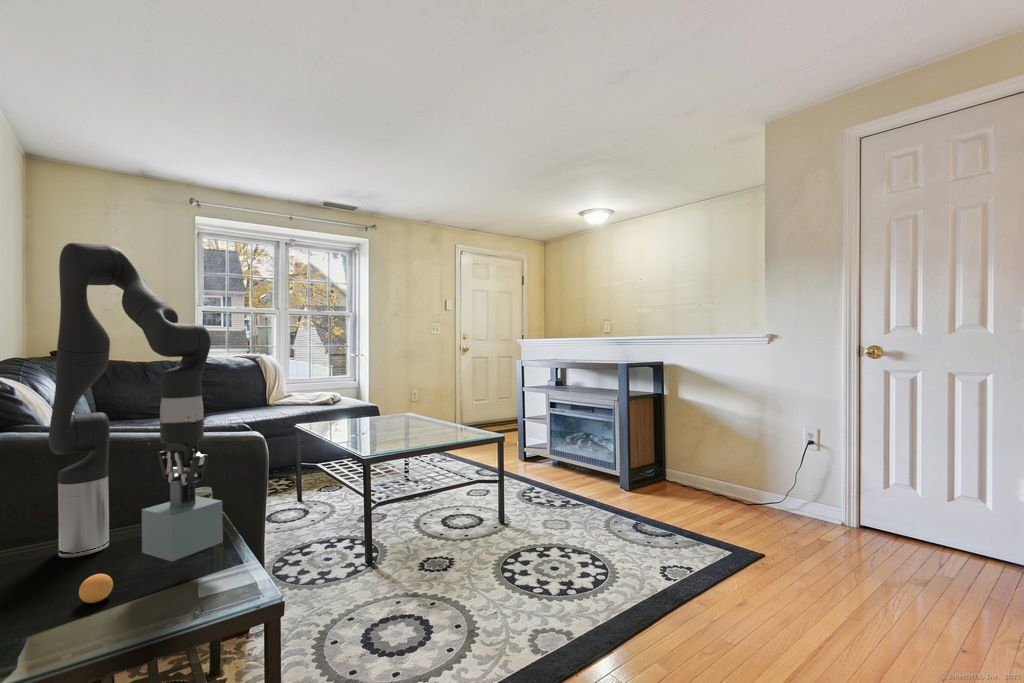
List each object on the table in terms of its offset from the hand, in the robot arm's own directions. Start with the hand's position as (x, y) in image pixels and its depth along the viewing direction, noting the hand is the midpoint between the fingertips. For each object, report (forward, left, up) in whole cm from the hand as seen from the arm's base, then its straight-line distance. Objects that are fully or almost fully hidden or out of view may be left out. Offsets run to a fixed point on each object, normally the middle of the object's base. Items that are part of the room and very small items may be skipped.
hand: (183, 500), depth 101 cm
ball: (-7, -12, -14) cm, 20 cm away
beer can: (-22, +17, -17) cm, 32 cm away
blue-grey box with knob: (0, 0, -10) cm, 10 cm away
